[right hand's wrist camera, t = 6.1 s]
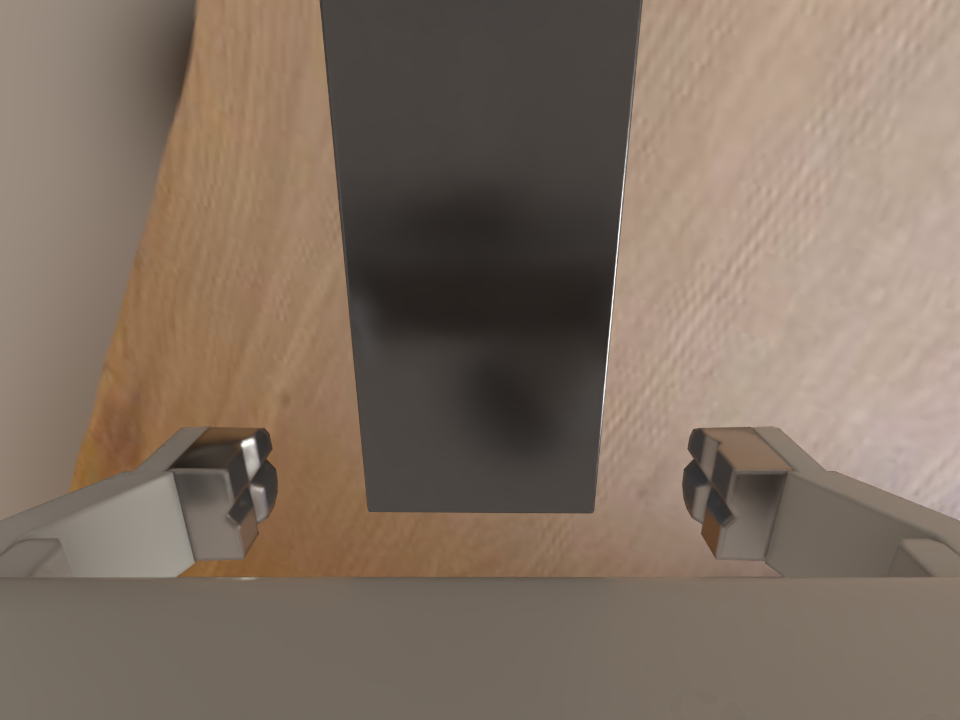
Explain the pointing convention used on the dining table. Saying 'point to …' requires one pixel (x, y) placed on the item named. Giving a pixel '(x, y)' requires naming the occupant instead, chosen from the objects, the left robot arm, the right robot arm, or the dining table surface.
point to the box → (481, 241)
